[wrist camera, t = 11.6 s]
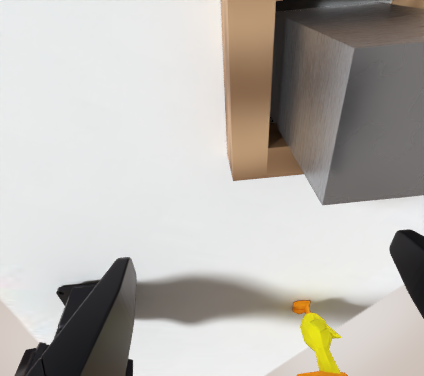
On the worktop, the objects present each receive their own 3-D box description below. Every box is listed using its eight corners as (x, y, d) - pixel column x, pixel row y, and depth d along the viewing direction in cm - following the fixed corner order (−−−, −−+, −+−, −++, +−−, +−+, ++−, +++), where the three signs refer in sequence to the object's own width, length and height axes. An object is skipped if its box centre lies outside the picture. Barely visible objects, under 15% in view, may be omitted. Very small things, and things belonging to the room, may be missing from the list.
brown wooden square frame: (384, 139, 22) (413, 163, 19) (227, 154, 22) (233, 180, 19) (453, -73, 15) (516, -84, 12) (218, -53, 14) (225, -59, 12)
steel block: (354, 104, 20) (464, 191, 12) (268, 112, 20) (322, 205, 12) (377, 1, 16) (557, 29, 8) (273, 11, 16) (354, 48, 8)
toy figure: (271, 315, 36) (301, 439, 26) (272, 299, 34) (305, 428, 24) (325, 309, 36) (374, 431, 26) (329, 293, 34) (385, 419, 24)
